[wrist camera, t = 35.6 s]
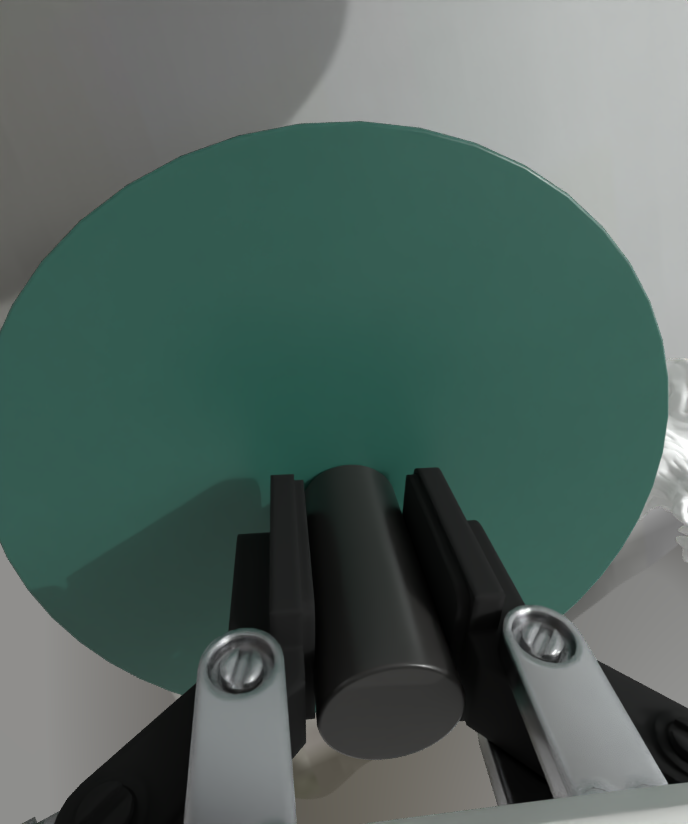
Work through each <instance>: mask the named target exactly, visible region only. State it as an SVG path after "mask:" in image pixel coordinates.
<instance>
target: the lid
mask: <svg viewBox="0 0 688 824" xmlns="http://www.w3.org/2000/svg"><path fill="white" fill-rule="evenodd" d="M667 422H668V372H667V366H666V359H665V352H664V346H663V340H662V337H661V334H660V331H659V327H658V324H657V321H656V318H655V315H654V312H653V309H652V306H651V303H650V300H649V298H648V297H647V295H646V293H645V291H644V289H643V287H642V285H641V283H640V281H639V279H638V277H637V275H636V273H635V271H634V270H633V268H632V266H631V264H630V262H629V261H628V259H627V258H626V257H625V255H624V254H623V253H622V252H621V250H620V249H619V248H618V246H617V245H616V244H615V242H614V241H613V240H612V238H611V237H610V236H609V234H608V233H607V232H606V230H605V229H604V228H603V226H602V225H600V224H599V223H598V222H597V221H596V220H595V219H594V218H593V217H592V216H591V215H590V214H589V213H588V212H587V211H586V210H584V209H583V208H582V207H581V206H580V205H579V204H578V203H577V202H576V201H575V200H574V199H573V198H572V197H571V196H570V195H569V194H567V193H566V192H564V191H563V190H561V189H560V188H558V187H557V186H555V185H554V184H552V183H551V182H549V181H548V180H546V179H545V178H543V177H542V176H540V175H539V174H537V173H536V172H534V171H533V170H531V169H530V168H528V167H527V166H525V165H523V164H521V163H519V162H517V161H515V160H512V159H510V158H508V157H506V156H503V155H501V154H499V153H497V152H495V151H492V150H490V149H488V148H486V147H484V146H481V145H479V144H477V143H474V142H471V141H467V140H463V139H460V138H456V137H452V136H449V135H445V134H441V133H438V132H434V131H430V130H427V129H423V128H417V127H409V126H400V125H391V124H382V123H373V122H364V121H353V122H328V123H303V124H295V125H290V126H285V127H280V128H275V129H270V130H264V131H259V132H254V133H249V134H244V135H239V136H236V137H233V138H230V139H227V140H225V141H222V142H219V143H216V144H213V145H210V146H208V147H205V148H202V149H199V150H196V151H194V152H191V153H188V154H185V155H182V156H180V157H178V158H176V159H174V160H172V161H171V162H169V163H167V164H165V165H163V166H161V167H159V168H158V169H156V170H154V171H152V172H150V173H148V174H146V175H145V176H143V177H141V178H139V179H137V180H135V181H133V182H132V183H130V184H128V185H126V186H125V187H124V188H122V189H121V190H120V191H118V192H117V193H116V194H114V195H113V196H112V197H111V198H109V199H108V200H107V201H105V202H104V203H103V204H101V205H100V206H99V207H97V208H96V209H95V210H93V211H92V212H91V213H89V214H88V215H87V216H86V217H84V218H83V219H82V220H80V221H79V222H78V223H77V224H76V226H75V227H74V228H73V229H72V230H71V231H70V232H69V233H68V234H67V235H66V236H65V237H64V238H63V239H62V240H61V241H60V242H59V243H58V244H57V246H56V247H55V248H54V249H53V250H52V251H51V252H50V253H49V254H48V255H47V256H46V257H45V258H44V259H43V260H42V261H41V263H40V264H39V266H38V267H37V269H36V270H35V272H34V273H33V275H32V276H31V278H30V279H29V281H28V282H27V284H26V285H25V287H24V288H23V290H22V291H21V292H20V294H19V295H18V297H17V298H16V300H15V301H14V303H13V304H12V306H11V308H10V311H9V313H8V315H7V317H6V320H5V322H4V324H3V326H2V328H1V331H0V543H1V545H2V547H3V550H4V552H5V554H6V556H7V558H8V560H9V561H10V563H11V564H12V566H13V568H14V569H15V571H16V572H17V574H18V575H19V577H20V578H21V580H22V581H23V583H24V585H25V586H26V588H27V589H28V590H29V591H30V593H31V594H32V595H33V596H34V597H35V599H36V600H37V601H38V602H39V603H40V604H41V605H42V607H43V608H44V609H45V610H46V611H47V612H48V614H49V615H50V616H51V617H52V618H53V619H54V620H55V621H56V622H58V623H59V624H60V625H61V626H62V627H63V628H64V629H65V630H67V631H68V632H69V633H70V634H71V635H72V636H73V637H74V638H76V639H77V640H78V641H79V642H80V643H82V644H83V645H85V646H86V647H88V648H89V649H90V650H92V651H93V652H95V653H96V654H98V655H99V656H101V657H102V658H103V659H105V660H106V661H108V662H110V663H111V664H113V665H115V666H117V667H119V668H121V669H123V670H124V671H126V672H128V673H130V674H132V675H134V676H136V677H137V678H139V679H142V680H144V681H147V682H149V683H152V684H154V685H156V686H159V687H161V688H164V689H166V690H168V691H171V692H174V693H177V694H181V695H183V694H184V693H185V692H186V691H188V690H189V689H190V688H191V687H192V686H193V685H194V684H196V681H197V670H198V665H199V662H200V658H201V656H202V654H203V652H204V651H205V649H206V648H207V646H208V645H209V644H210V643H211V642H213V641H214V640H215V639H216V638H217V637H219V636H221V635H223V634H224V633H226V632H228V629H229V618H230V607H231V596H232V586H233V575H234V564H235V553H236V542H237V536H238V534H249V533H265V532H270V476H271V475H282V474H294V480H303V482H304V493H305V504H306V515H307V525H308V536H309V547H310V558H311V569H312V580H313V591H314V604H315V667H314V673H313V679H314V692H315V712H316V718H317V727H318V730H319V733H320V734H321V736H322V738H323V740H324V741H325V742H326V743H327V744H328V745H329V746H330V747H331V748H333V749H334V750H336V751H337V752H339V753H342V754H344V755H347V756H350V757H354V758H359V759H368V760H382V759H392V758H398V757H402V756H406V755H409V754H412V753H416V752H418V751H420V750H423V749H425V748H427V747H429V746H431V745H433V744H435V743H436V742H438V741H439V740H441V739H442V738H443V737H445V736H446V735H447V734H448V733H449V732H450V731H451V730H452V729H453V728H454V727H455V726H456V725H457V723H458V722H459V720H460V719H461V717H462V715H463V712H464V708H465V700H466V697H465V691H464V688H463V685H462V682H461V679H460V676H459V673H458V671H457V668H456V665H455V662H454V659H453V656H452V654H451V651H450V648H449V645H448V642H447V639H446V637H445V634H444V631H443V628H442V625H441V622H440V620H439V617H438V614H437V611H436V608H435V605H434V603H433V600H432V597H431V594H430V591H429V588H428V586H427V583H426V580H425V577H424V574H423V571H422V569H421V566H420V563H419V560H418V557H417V554H416V552H415V549H414V546H413V543H412V540H411V538H410V535H409V532H408V529H407V526H406V523H405V521H404V518H403V515H402V512H403V501H404V491H405V481H406V476H407V475H411V474H413V472H414V469H416V468H431V467H438V468H440V470H441V471H442V473H443V475H444V477H445V479H446V481H447V483H448V485H449V487H450V489H451V491H452V493H453V495H454V497H455V498H456V500H457V502H458V504H459V506H460V508H461V510H462V512H463V514H464V516H465V518H466V520H477V521H478V522H479V523H480V524H481V525H482V527H483V529H484V531H485V533H486V534H487V536H488V538H489V540H490V542H491V543H492V545H493V547H494V549H495V551H496V552H497V554H498V556H499V558H500V560H501V562H502V563H503V565H504V567H505V569H506V571H507V572H508V574H509V576H510V578H511V580H512V582H513V583H514V585H515V587H516V589H517V591H518V592H519V594H520V596H521V598H522V600H523V601H524V603H525V605H540V606H543V607H546V608H550V609H552V610H554V611H556V612H558V613H560V614H562V615H563V614H565V613H566V612H567V611H568V610H569V609H570V608H571V607H572V606H573V605H575V604H576V603H577V602H578V601H579V600H580V599H581V598H582V597H583V595H584V594H585V593H586V592H587V591H588V590H589V589H590V588H591V587H592V586H593V585H594V583H595V582H596V581H597V580H598V579H599V578H600V577H601V576H602V574H603V573H604V572H605V570H606V569H607V568H608V566H609V565H610V564H611V562H612V561H613V560H614V558H615V557H616V555H617V554H618V553H619V551H620V550H621V549H622V547H623V545H624V544H625V542H626V540H627V538H628V537H629V535H630V533H631V532H632V530H633V528H634V526H635V525H636V523H637V521H638V520H639V518H640V515H641V513H642V511H643V508H644V506H645V504H646V502H647V499H648V497H649V495H650V492H651V490H652V488H653V485H654V482H655V478H656V475H657V471H658V468H659V464H660V461H661V457H662V454H663V449H664V442H665V436H666V429H667Z"/></svg>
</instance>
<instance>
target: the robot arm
mask: <svg viewBox="0 0 688 824" xmlns="http://www.w3.org/2000/svg"><path fill="white" fill-rule="evenodd" d="M402 515H403V518H404V521H405V523H406V526H407V529H408V532H409V535H410V538H411V540H412V543H413V546H414V549H415V552H416V554H417V557H418V560H419V563H420V566H421V569H422V571H423V574H424V577H425V580H426V583H427V586H428V588H429V591H430V594H431V597H432V600H433V603H434V605H435V608H436V611H437V614H438V617H439V620H440V622H441V625H442V628H443V631H444V634H445V637H446V639H447V642H448V645H449V648H450V651H451V654H452V656H453V659H454V662H455V665H456V668H457V671H458V673H459V676H460V679H461V682H462V685H463V688H464V691H465V697H466V700H465V708H464V712H463V715H462V717H461V719H460V720H459V721H465V722H466V725H468V726H469V727H470V728H472V729H473V730H475V731H476V732H478V739H479V745H480V748H481V751H482V755H483V758H484V761H485V765H486V768H487V771H488V775H489V778H490V782H491V785H492V788H493V791H494V795H495V798H496V802H497V805H498V806H495V807H488V808H480V809H472V810H465V811H457V812H450V813H442V814H434V815H426V816H419V817H412V818H403V819H396V820H388V821H381V822H374V823H366V824H688V708H686V707H684V706H682V705H681V704H679V703H677V702H675V701H673V700H671V699H669V698H667V697H665V696H664V695H662V694H660V693H658V692H656V691H654V690H652V689H650V688H648V687H647V686H645V685H643V684H641V683H639V682H637V681H635V680H633V679H632V678H630V677H628V676H626V675H624V674H622V673H620V672H618V671H616V670H615V669H613V668H611V667H609V666H607V665H605V664H603V663H601V662H599V661H598V660H596V658H595V657H594V655H593V653H592V651H591V650H590V648H589V646H588V644H587V643H586V641H585V639H584V638H583V636H582V634H581V633H580V631H579V630H578V629H577V627H576V626H575V625H574V624H573V623H572V622H571V621H570V620H568V619H567V618H566V617H565V616H564V615H562V614H560V613H558V612H556V611H554V610H552V609H550V608H546V607H543V606H540V605H525V603H524V601H523V600H522V598H521V596H520V594H519V592H518V591H517V589H516V587H515V585H514V583H513V582H512V580H511V578H510V576H509V574H508V572H507V571H506V569H505V567H504V565H503V563H502V562H501V560H500V558H499V556H498V554H497V552H496V551H495V549H494V547H493V545H492V543H491V542H490V540H489V538H488V536H487V534H486V533H485V531H484V529H483V527H482V525H481V524H480V523H479V522H478V521H477V520H466V518H465V516H464V514H463V512H462V510H461V508H460V506H459V504H458V502H457V500H456V498H455V497H454V495H453V493H452V491H451V489H450V487H449V485H448V483H447V481H446V479H445V477H444V475H443V473H442V471H441V470H440V468H438V467H431V468H416V469H414V472H413V474H411V475H407V476H406V481H405V491H404V501H403V512H402ZM314 667H315V604H314V591H313V580H312V569H311V558H310V547H309V536H308V525H307V515H306V504H305V493H304V482H303V480H294V474H282V475H271V476H270V532H265V533H249V534H238V536H237V542H236V553H235V564H234V575H233V586H232V596H231V607H230V618H229V629H228V632H226V633H224V634H223V635H221V636H219V637H217V638H216V639H215V640H214V641H213V642H211V643H210V644H209V645H208V646H207V648H206V649H205V651H204V652H203V654H202V656H201V658H200V662H199V665H198V670H197V681H196V684H194V685H193V686H192V687H191V688H190V689H189V690H188V691H186V692H185V693H184V694H183V695H182V696H181V697H180V698H178V699H177V700H176V701H175V702H174V703H173V704H172V705H171V706H169V707H168V708H167V709H166V710H165V711H164V712H163V713H161V714H160V715H159V716H158V717H157V718H156V719H154V720H153V721H152V722H151V723H150V724H149V725H148V726H146V727H145V728H144V729H143V730H142V731H141V732H140V733H139V734H137V735H136V736H135V737H134V738H133V739H132V740H130V741H129V742H128V743H127V744H126V745H125V746H124V747H123V748H122V749H120V750H119V751H118V752H117V753H116V754H115V755H113V756H112V757H111V758H110V759H109V760H108V761H107V762H106V763H104V764H103V765H102V766H101V767H100V768H99V769H97V770H96V771H95V772H94V773H93V774H92V775H91V776H90V777H88V778H87V779H86V780H85V781H84V782H83V783H81V784H80V786H79V787H78V788H77V789H76V790H75V791H74V792H73V793H72V794H71V795H70V796H69V797H68V798H67V800H66V802H65V803H64V805H63V807H62V808H61V810H60V811H59V812H57V813H55V814H53V815H52V816H50V817H48V818H46V819H44V820H42V821H40V822H38V823H37V821H36V819H35V817H34V818H32V819H30V820H28V821H26V822H24V823H22V824H297V822H296V809H295V796H294V782H293V769H292V759H293V758H294V756H295V755H296V754H297V753H298V752H299V750H300V749H301V748H302V747H303V746H304V744H305V743H306V719H315V692H314V679H313V673H314Z"/></svg>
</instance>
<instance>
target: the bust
mask: <svg viewBox="0 0 688 824" xmlns="http://www.w3.org/2000/svg"><path fill="white" fill-rule="evenodd" d="M666 366H667V372H668V422H667V429H666V436H665V442H664V449H663V454H662V457H661V461H660V464H659V468H658V471H657V475H656V478H655V482H654V485H653V488H652V490H651V492H650V495H649V497H648V499H647V502H646V504H645V506H644V508H643V511H642V513H641V515H640V518H639V520H638V521H640V520H641V519H643V518H644V517H645V516H646V515H647V513H648V512H649V511H650V510H651V509H653V508H657V507H662V508H664V509H665V510H666V511H671V512H672V514H673V515H674V516H675V517H676V518H677V519H678V520H679V521H681V522H682V523H683V524H684V525H683V526H681V527H679V529H678V531H679V532H681V533H683V534H685V535H687V536H678V537H677V538H676V542H677V543H678V544H679V545H681V546H682V548H683V552H682V557H683V560H684V561H685V562H688V359H681V358H671V359H666ZM638 521H637V522H638Z"/></svg>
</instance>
